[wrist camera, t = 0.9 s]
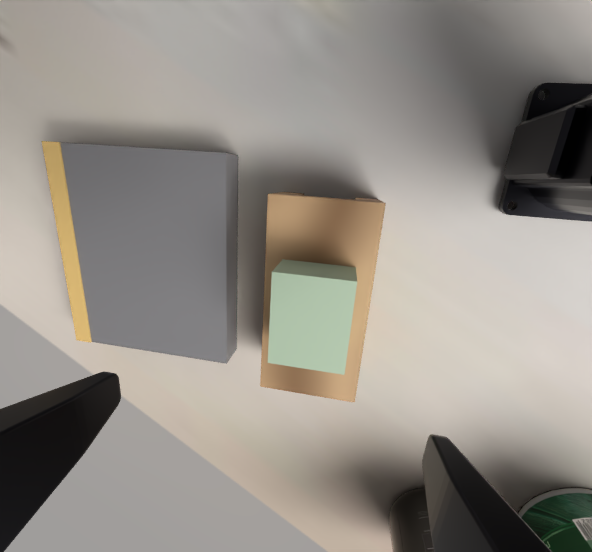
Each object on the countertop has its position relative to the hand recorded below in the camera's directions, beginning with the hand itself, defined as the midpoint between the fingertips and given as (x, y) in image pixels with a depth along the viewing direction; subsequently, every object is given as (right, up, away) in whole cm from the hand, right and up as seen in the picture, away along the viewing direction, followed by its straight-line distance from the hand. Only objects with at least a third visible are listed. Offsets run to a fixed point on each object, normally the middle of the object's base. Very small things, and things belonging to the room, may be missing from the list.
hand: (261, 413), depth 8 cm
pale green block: (+2, +2, +9) cm, 9 cm away
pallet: (+3, +3, +12) cm, 13 cm away
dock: (-9, +6, +14) cm, 17 cm away
